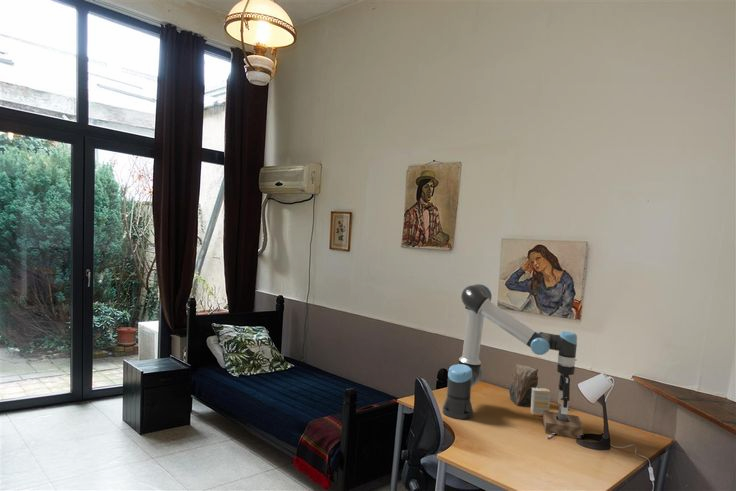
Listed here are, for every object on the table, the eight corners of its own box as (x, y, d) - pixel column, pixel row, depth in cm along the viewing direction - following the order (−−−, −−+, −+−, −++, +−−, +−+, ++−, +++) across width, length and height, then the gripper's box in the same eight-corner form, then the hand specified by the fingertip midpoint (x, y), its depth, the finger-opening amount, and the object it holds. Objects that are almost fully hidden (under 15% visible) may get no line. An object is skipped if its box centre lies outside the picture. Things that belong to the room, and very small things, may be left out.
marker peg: (557, 430, 215) (559, 401, 215) (556, 427, 219) (558, 398, 219) (567, 432, 214) (569, 402, 214) (566, 428, 218) (568, 399, 218)
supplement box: (546, 413, 237) (547, 388, 237) (549, 417, 232) (550, 391, 232) (529, 411, 238) (531, 387, 237) (532, 415, 233) (534, 390, 233)
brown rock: (507, 397, 258) (509, 362, 257) (529, 398, 259) (531, 363, 258) (516, 406, 245) (519, 369, 245) (539, 406, 246) (541, 370, 246)
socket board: (545, 433, 212) (545, 422, 211) (542, 420, 227) (543, 410, 227) (582, 439, 207) (583, 428, 207) (577, 426, 222) (578, 416, 222)
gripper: (578, 373, 203) (574, 419, 204) (571, 359, 227) (567, 401, 228) (560, 370, 205) (556, 416, 206) (555, 357, 229) (551, 398, 230)
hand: (562, 408), depth 217 cm, fingers open, 13 cm apart
